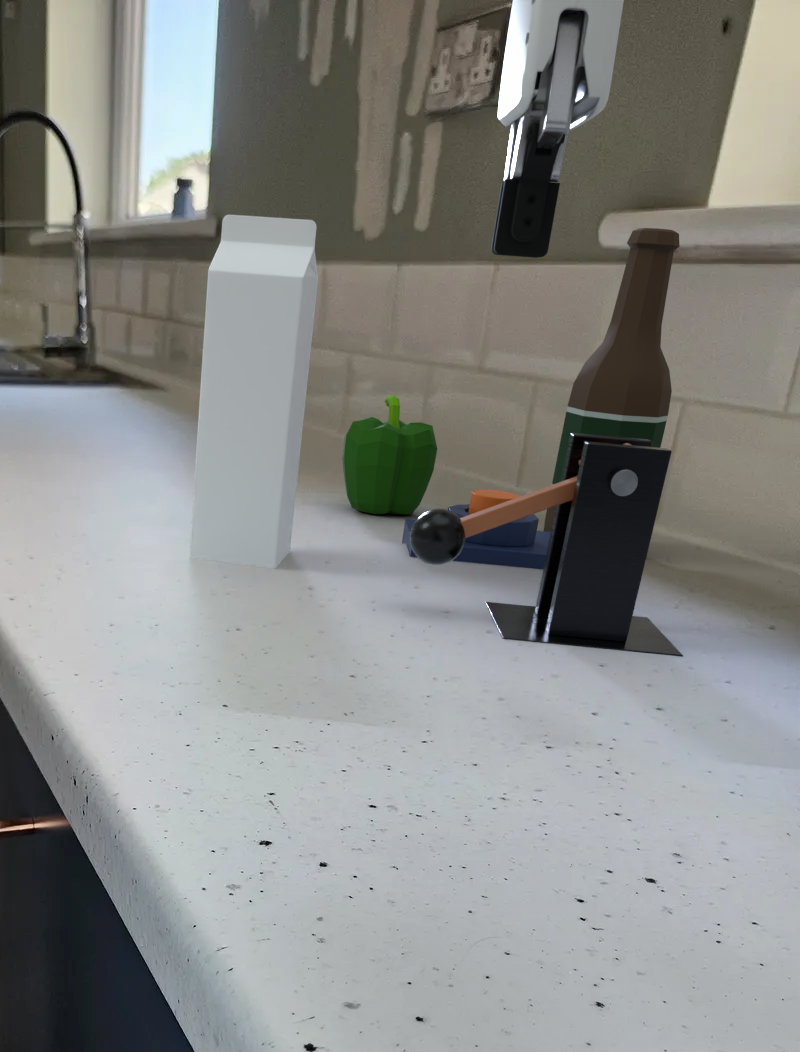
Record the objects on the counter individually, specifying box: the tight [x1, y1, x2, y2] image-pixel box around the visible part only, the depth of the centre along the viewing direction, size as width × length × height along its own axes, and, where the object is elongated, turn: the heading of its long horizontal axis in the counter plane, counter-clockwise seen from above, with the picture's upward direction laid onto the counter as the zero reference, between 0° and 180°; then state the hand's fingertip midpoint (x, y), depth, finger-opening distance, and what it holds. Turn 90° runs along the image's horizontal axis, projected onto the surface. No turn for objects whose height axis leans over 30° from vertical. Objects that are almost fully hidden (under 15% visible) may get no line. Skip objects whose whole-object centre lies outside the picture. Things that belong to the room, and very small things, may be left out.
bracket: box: [485, 433, 684, 658], centre depth 65 cm, size 10×8×12 cm
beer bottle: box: [543, 227, 680, 532], centre depth 90 cm, size 8×8×24 cm
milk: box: [188, 214, 319, 570], centre depth 74 cm, size 6×6×22 cm
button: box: [468, 489, 521, 514], centre depth 84 cm, size 4×4×2 cm
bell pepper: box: [341, 394, 438, 516], centre depth 101 cm, size 8×8×10 cm
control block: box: [401, 503, 551, 570], centre depth 85 cm, size 12×9×4 cm
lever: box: [410, 443, 631, 566], centre depth 64 cm, size 13×3×3 cm, turn 84°
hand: (518, 255), depth 69 cm, fingers closed
